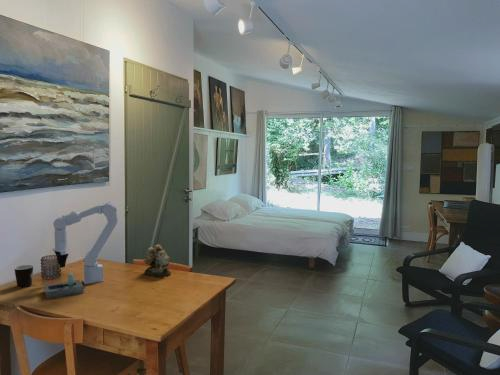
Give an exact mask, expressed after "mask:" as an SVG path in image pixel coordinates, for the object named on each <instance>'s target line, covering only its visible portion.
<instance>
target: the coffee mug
mask: <svg viewBox="0 0 500 375" xmlns="http://www.w3.org/2000/svg"><path fill="white" fill-rule="evenodd" d="M14 274H15V279H16V280H15V282H16V285H17V288H19V289H25V288H29V287H31V286H32V284H33V274H34V265H33V264H24V265H23V264H22V265H18V266H15V267H14Z"/></svg>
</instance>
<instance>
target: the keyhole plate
mask: <svg viewBox="0 0 500 375" xmlns="http://www.w3.org/2000/svg"><path fill="white" fill-rule="evenodd" d="M44 294H45V295H46V299H47V300H50V299H56V298H61V297H67V296H73V295H79V294H84V285H83V284H82V282H81V280H80V279H74V285H72V286H68V281H61V282H55V283H49V284H44Z"/></svg>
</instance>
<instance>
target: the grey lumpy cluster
mask: <svg viewBox="0 0 500 375" xmlns="http://www.w3.org/2000/svg"><path fill="white" fill-rule="evenodd" d="M143 262H144V263H145V264H146V265H148V267H147V268H146V269H145V270H144V275H145V274H146V275H145V276H148V277H151V276H153V277H152V278H164V276H167V277H169V276H168V275H170V274H171V275H172V271H171V270H169V265H170V256H168V254H167V253H166V250H165V249H163V247H162V245H161V244H156V245H154V246H153V247H152V246H151V247H148V248H147V253H146V256H145V259H143ZM171 275H170V276H171Z"/></svg>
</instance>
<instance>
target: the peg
mask: <svg viewBox="0 0 500 375" xmlns="http://www.w3.org/2000/svg"><path fill="white" fill-rule="evenodd" d="M67 278H68V281H67V282H68V286H72V285H74V280H75V279H74V273H68V274H67Z"/></svg>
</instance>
